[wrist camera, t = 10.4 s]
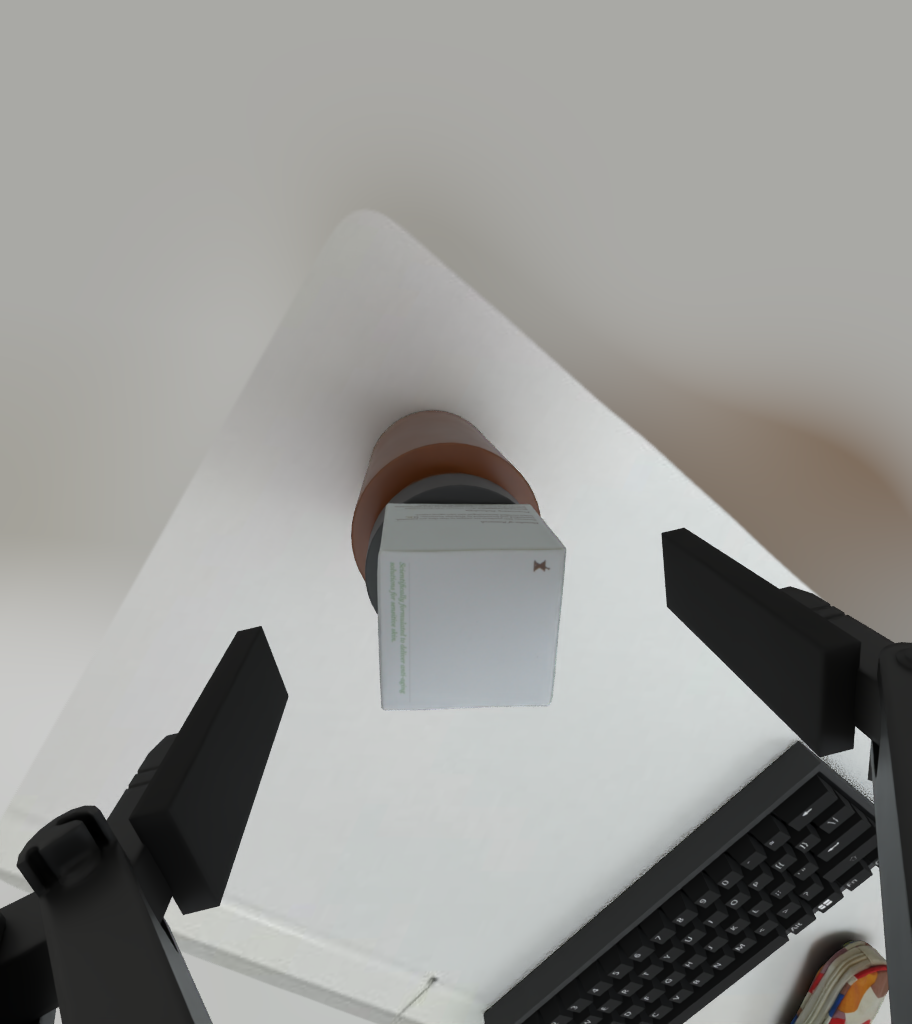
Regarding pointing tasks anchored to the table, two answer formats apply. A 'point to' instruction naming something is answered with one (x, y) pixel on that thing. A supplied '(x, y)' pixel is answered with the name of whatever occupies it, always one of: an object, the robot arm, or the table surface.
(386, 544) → the small box
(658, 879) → the computer keyboard
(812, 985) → the pencil case
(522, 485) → the bottle
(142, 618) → the table surface
